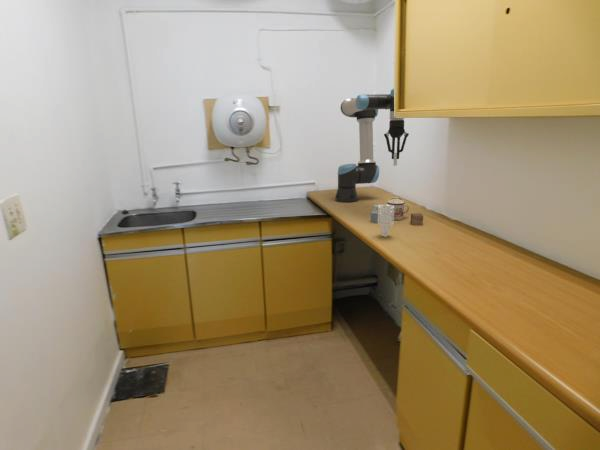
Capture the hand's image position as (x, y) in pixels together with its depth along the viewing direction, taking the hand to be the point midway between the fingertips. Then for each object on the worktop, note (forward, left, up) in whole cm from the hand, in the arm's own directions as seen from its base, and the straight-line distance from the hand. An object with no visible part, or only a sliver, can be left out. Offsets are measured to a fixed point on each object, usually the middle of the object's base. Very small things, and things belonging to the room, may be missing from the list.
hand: (395, 165), depth 201 cm
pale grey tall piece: (+41, 0, -28) cm, 49 cm away
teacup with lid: (+7, +3, -28) cm, 29 cm away
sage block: (+1, -8, -28) cm, 29 cm away
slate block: (+17, -7, -28) cm, 33 cm away
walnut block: (+16, +13, -28) cm, 34 cm away
